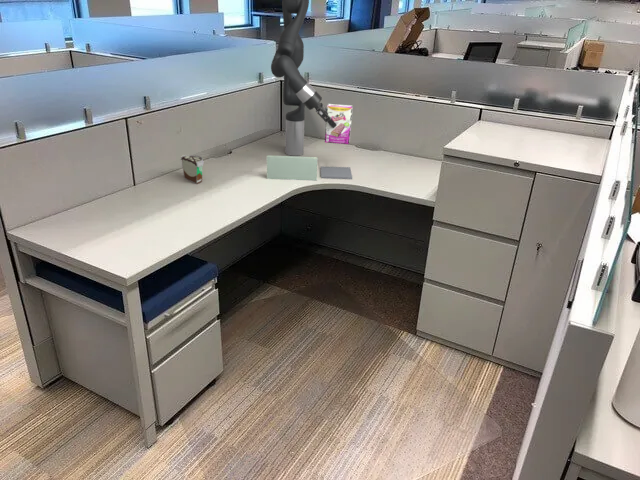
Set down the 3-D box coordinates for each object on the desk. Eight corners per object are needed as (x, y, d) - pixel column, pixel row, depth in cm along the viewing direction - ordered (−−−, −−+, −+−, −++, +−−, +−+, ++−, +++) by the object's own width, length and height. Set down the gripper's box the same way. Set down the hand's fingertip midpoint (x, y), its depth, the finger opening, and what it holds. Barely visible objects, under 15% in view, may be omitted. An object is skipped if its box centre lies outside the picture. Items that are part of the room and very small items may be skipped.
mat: (320, 167, 238) (320, 166, 238) (350, 168, 239) (350, 167, 238) (321, 178, 226) (321, 176, 225) (352, 179, 226) (352, 177, 226)
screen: (267, 177, 224) (267, 155, 219) (316, 178, 225) (317, 157, 220) (266, 178, 222) (266, 156, 218) (316, 180, 223) (317, 158, 218)
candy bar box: (324, 143, 223) (326, 105, 216) (325, 139, 228) (327, 103, 220) (349, 144, 223) (352, 107, 215) (350, 141, 227) (352, 105, 219)
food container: (211, 181, 216) (209, 159, 212) (198, 185, 212) (197, 162, 208) (194, 174, 224) (192, 152, 219) (182, 177, 219) (180, 155, 215)
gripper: (315, 93, 208) (342, 123, 214) (315, 86, 221) (340, 115, 227) (302, 105, 211) (329, 135, 217) (302, 98, 223) (328, 126, 229)
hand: (334, 124), depth 222 cm, fingers closed on candy bar box, 5 cm apart
